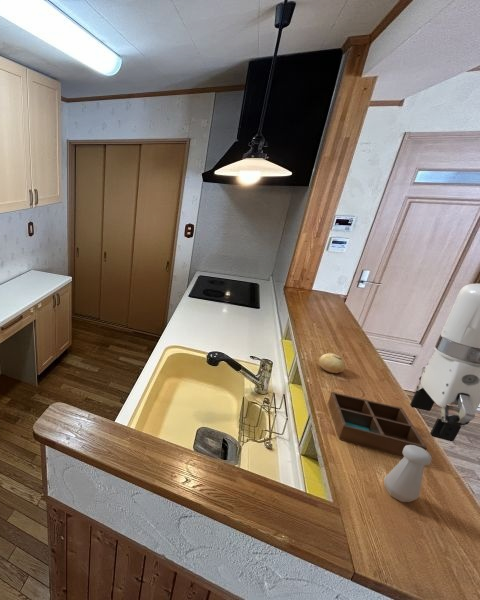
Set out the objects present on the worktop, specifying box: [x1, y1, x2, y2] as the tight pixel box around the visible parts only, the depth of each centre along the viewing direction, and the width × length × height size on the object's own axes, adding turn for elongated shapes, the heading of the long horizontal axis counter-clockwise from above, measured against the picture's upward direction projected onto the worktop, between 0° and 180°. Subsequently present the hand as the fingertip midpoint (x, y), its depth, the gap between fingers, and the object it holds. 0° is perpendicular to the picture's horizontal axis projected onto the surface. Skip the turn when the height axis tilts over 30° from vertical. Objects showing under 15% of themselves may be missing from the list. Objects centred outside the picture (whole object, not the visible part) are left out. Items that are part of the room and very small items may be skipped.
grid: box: [327, 391, 428, 458], centre depth 92 cm, size 17×17×5 cm
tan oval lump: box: [317, 352, 346, 374], centre depth 121 cm, size 8×8×7 cm
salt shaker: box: [383, 445, 432, 503], centre depth 71 cm, size 6×6×13 cm
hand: (429, 422), depth 67 cm, fingers open, 9 cm apart
